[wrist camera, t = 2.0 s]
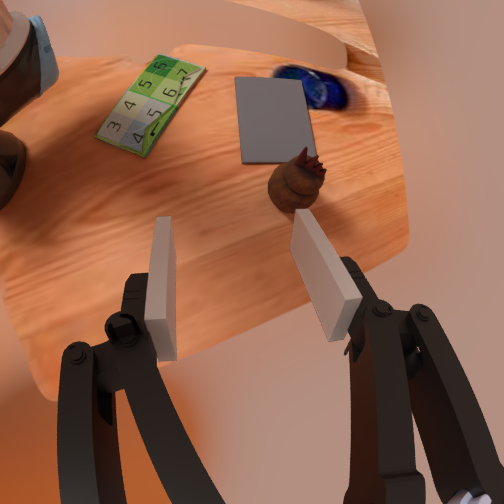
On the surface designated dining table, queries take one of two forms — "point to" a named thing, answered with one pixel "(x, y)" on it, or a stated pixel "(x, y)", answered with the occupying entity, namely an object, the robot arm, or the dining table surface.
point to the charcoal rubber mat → (272, 120)
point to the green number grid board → (149, 104)
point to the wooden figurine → (296, 182)
